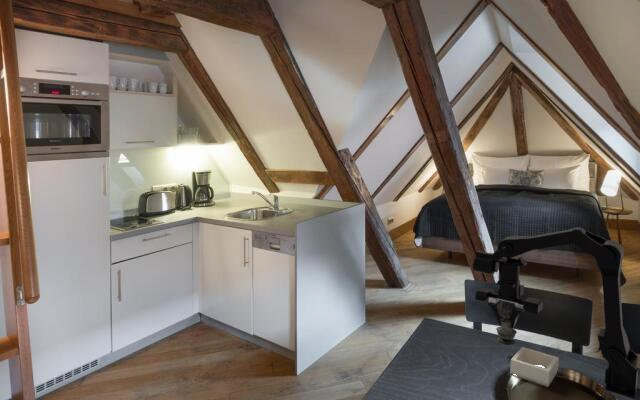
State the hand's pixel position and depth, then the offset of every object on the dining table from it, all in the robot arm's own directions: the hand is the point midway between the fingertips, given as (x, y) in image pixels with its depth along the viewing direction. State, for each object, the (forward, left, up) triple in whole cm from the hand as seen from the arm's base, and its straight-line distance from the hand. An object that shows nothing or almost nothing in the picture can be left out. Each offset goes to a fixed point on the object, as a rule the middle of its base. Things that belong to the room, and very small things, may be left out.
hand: (506, 325), depth 134 cm
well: (-10, +6, -9) cm, 15 cm away
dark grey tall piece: (0, 0, -5) cm, 5 cm away
